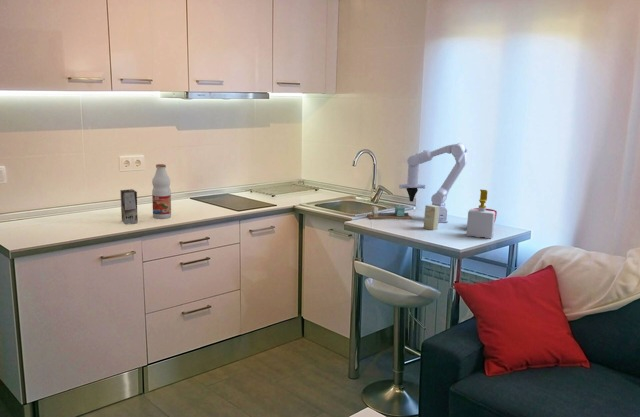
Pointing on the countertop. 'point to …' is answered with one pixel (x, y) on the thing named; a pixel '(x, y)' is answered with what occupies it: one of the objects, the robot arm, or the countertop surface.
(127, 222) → the coffee box
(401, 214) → the keeper
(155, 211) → the fruit juice
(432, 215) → the skincare box
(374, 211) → the rail board
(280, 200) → the countertop surface
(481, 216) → the soap bottle
